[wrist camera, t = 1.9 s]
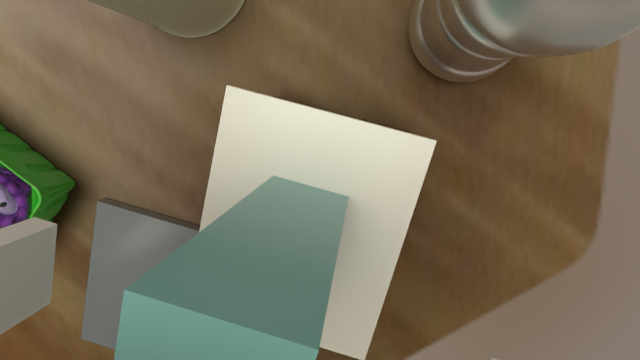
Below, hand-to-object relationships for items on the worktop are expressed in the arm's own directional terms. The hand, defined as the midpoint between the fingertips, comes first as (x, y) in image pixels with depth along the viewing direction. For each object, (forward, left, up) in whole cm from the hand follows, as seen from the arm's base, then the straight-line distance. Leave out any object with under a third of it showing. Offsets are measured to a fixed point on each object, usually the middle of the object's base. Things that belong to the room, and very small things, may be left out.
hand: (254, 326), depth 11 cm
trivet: (-12, +12, -18) cm, 25 cm away
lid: (0, 0, -11) cm, 11 cm away
